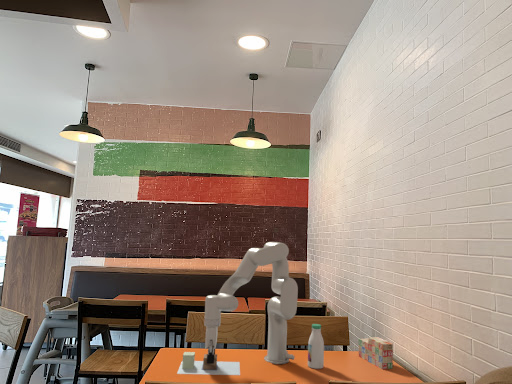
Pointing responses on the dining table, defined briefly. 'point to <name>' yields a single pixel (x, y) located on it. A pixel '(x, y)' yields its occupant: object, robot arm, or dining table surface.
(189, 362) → the sage block
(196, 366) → the board
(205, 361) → the walnut block
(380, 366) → the stack of blocks
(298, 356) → the dining table surface
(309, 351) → the milk bottle
